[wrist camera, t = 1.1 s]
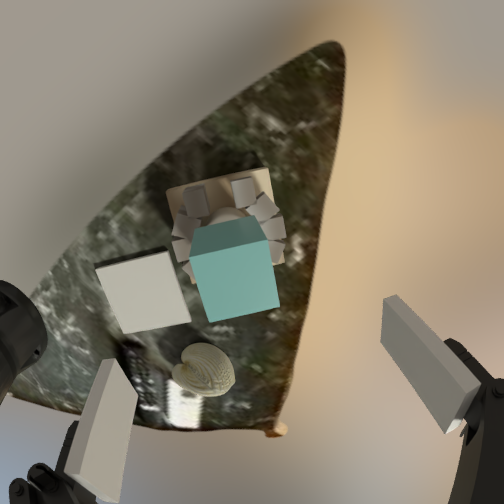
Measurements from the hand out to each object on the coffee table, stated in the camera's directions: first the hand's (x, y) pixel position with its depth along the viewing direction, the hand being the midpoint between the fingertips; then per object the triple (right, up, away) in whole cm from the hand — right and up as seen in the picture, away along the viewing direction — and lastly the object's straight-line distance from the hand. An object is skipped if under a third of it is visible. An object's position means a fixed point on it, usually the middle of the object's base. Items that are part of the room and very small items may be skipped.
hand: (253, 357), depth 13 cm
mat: (-14, -1, +23) cm, 27 cm away
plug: (-3, +7, +19) cm, 21 cm away
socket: (-3, +8, +21) cm, 23 cm away
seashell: (-7, -12, +28) cm, 31 cm away
